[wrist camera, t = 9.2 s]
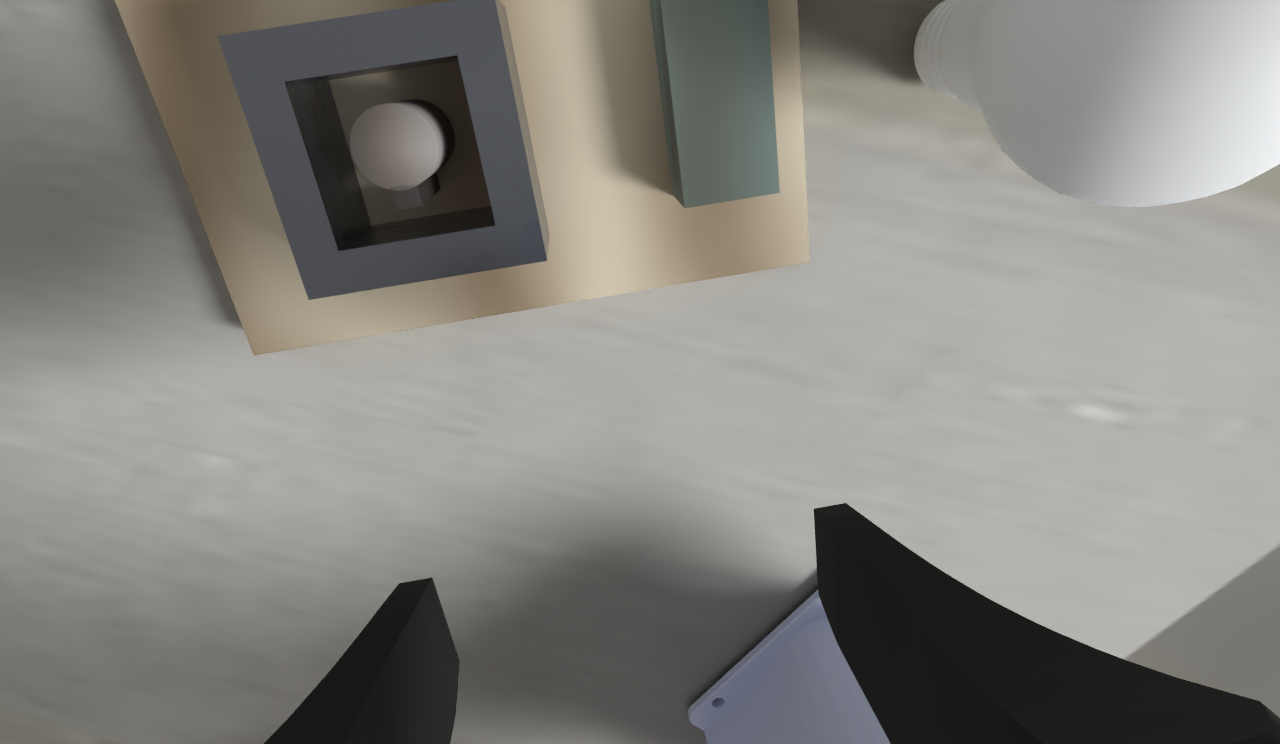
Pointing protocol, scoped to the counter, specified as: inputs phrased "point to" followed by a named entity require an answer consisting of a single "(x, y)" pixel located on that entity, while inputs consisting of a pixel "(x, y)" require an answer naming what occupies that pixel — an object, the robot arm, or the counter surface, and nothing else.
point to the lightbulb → (1116, 90)
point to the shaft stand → (562, 144)
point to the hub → (323, 168)
